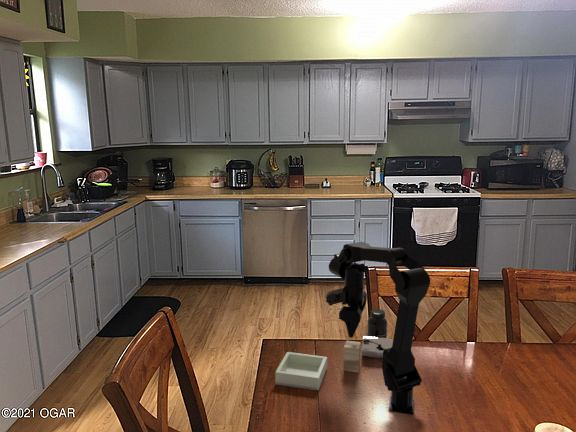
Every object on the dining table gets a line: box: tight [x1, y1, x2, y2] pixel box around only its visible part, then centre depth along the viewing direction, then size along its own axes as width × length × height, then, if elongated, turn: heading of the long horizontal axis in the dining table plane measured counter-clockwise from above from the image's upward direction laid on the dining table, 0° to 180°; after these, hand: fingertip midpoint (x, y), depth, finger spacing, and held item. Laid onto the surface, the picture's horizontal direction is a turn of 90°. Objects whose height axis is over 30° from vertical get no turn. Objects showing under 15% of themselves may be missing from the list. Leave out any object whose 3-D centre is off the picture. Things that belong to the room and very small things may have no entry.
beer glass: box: [361, 334, 393, 359], centre depth 159 cm, size 7×7×15 cm
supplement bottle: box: [366, 308, 388, 338], centre depth 167 cm, size 7×7×12 cm
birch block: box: [343, 340, 362, 373], centre depth 151 cm, size 4×4×8 cm
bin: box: [274, 351, 328, 391], centre depth 147 cm, size 13×13×4 cm
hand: (353, 330), depth 150 cm, fingers open, 9 cm apart
